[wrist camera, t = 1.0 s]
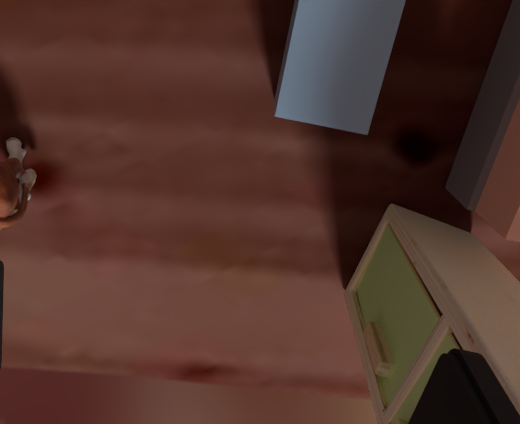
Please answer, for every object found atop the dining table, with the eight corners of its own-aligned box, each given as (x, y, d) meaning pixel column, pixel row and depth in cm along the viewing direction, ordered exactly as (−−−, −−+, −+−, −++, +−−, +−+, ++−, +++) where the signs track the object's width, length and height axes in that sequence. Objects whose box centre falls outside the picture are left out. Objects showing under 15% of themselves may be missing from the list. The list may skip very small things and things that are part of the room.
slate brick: (302, -39, 28) (310, -54, 22) (386, -21, 28) (414, -31, 22) (274, 99, 31) (274, 116, 25) (350, 114, 31) (367, 135, 25)
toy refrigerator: (379, 194, 33) (538, 450, 13) (475, 230, 33) (757, 522, 14) (332, 288, 35) (404, 614, 16) (421, 319, 36) (593, 666, 17)
